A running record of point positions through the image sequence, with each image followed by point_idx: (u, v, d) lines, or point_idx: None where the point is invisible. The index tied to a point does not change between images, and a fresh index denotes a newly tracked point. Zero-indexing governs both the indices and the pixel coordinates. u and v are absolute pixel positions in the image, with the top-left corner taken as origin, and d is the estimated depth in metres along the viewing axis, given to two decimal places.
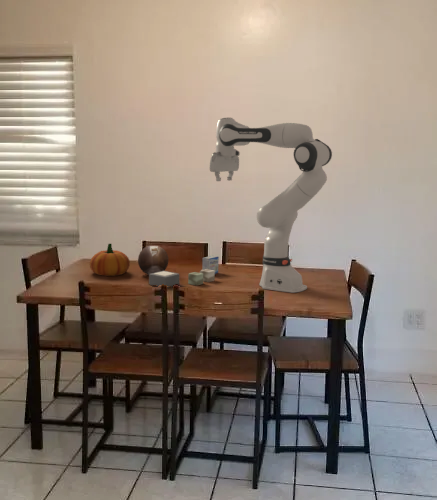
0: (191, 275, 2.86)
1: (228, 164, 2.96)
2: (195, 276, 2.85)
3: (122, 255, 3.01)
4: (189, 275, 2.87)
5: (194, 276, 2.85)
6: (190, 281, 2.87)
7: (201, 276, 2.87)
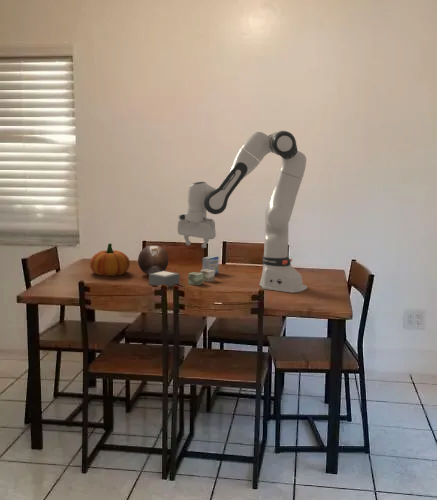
0: (191, 275, 2.86)
1: None
2: (195, 276, 2.85)
3: (122, 255, 3.01)
4: (189, 275, 2.87)
5: (194, 276, 2.85)
6: (190, 281, 2.87)
7: (201, 276, 2.87)
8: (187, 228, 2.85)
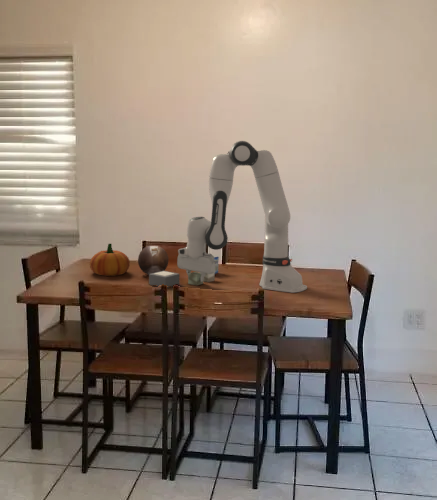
0: (191, 275, 2.86)
1: None
2: (195, 276, 2.85)
3: (122, 255, 3.01)
4: (189, 275, 2.87)
5: (194, 276, 2.85)
6: (190, 281, 2.87)
7: None
8: (186, 263, 2.88)
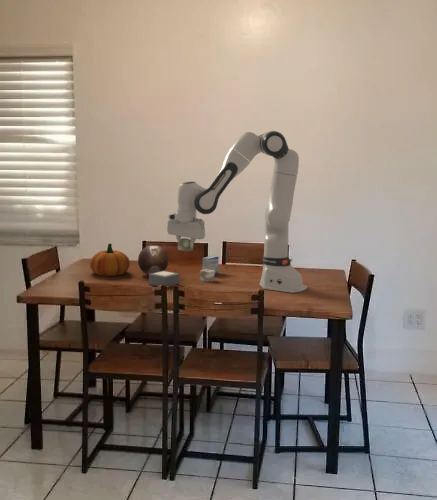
0: (181, 240, 2.82)
1: None
2: (185, 241, 2.81)
3: (122, 255, 3.01)
4: (179, 240, 2.83)
5: (184, 241, 2.81)
6: (180, 247, 2.83)
7: None
8: (176, 228, 2.84)
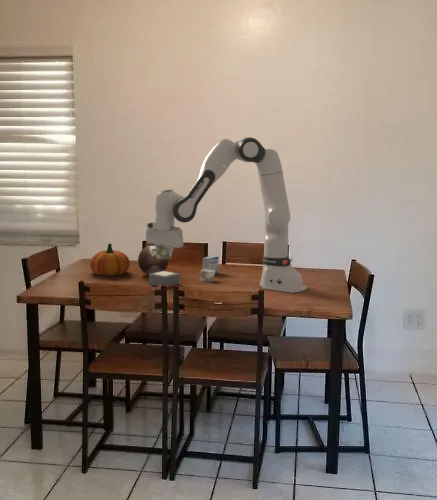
0: (159, 249, 2.81)
1: None
2: (163, 250, 2.80)
3: (122, 255, 3.01)
4: (157, 249, 2.82)
5: (162, 250, 2.80)
6: (158, 256, 2.82)
7: None
8: (155, 237, 2.83)
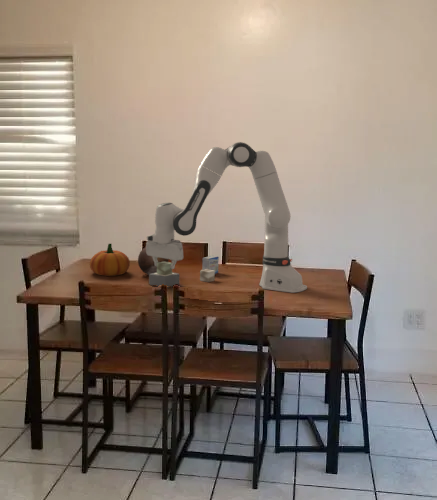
0: (159, 264, 2.82)
1: None
2: (163, 265, 2.81)
3: (122, 255, 3.01)
4: (157, 264, 2.83)
5: (162, 265, 2.81)
6: (158, 271, 2.83)
7: None
8: (155, 249, 2.84)
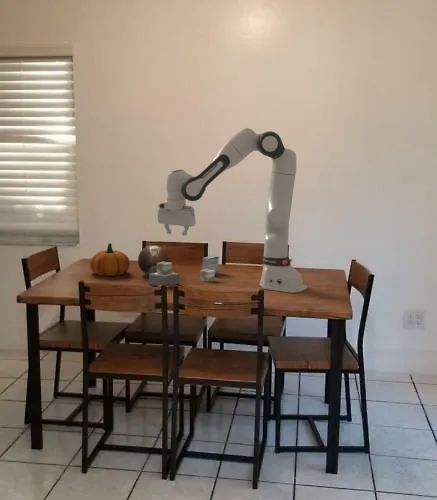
0: (159, 264, 2.82)
1: None
2: (163, 265, 2.81)
3: (122, 255, 3.01)
4: (157, 264, 2.83)
5: (162, 265, 2.81)
6: (158, 271, 2.83)
7: (170, 265, 2.84)
8: (167, 217, 2.86)
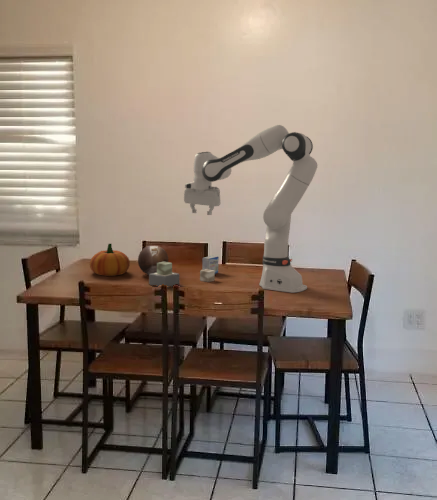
0: (159, 264, 2.82)
1: None
2: (163, 265, 2.81)
3: (122, 255, 3.01)
4: (157, 264, 2.83)
5: (162, 265, 2.81)
6: (158, 271, 2.83)
7: (170, 265, 2.84)
8: (193, 197, 2.98)
